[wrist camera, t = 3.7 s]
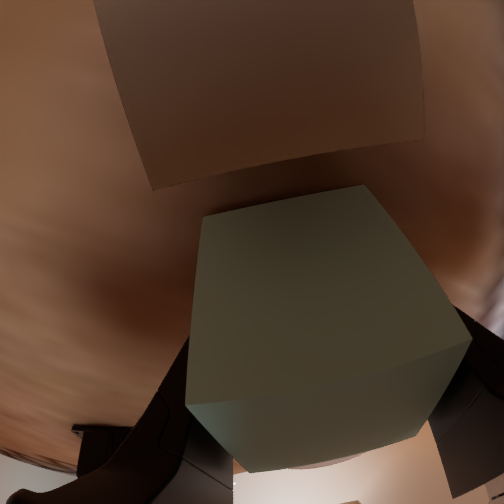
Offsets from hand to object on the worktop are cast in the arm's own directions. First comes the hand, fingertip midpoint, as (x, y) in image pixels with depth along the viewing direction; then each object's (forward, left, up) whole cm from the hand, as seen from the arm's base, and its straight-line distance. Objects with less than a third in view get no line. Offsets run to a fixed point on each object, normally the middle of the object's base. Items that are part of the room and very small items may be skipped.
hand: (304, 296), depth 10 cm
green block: (0, 0, -2) cm, 2 cm away
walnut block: (+8, 0, -2) cm, 8 cm away
